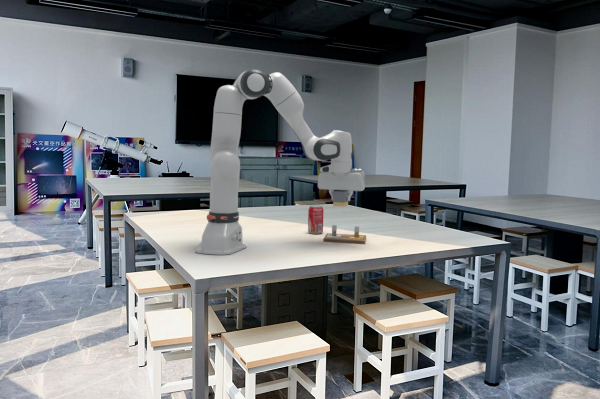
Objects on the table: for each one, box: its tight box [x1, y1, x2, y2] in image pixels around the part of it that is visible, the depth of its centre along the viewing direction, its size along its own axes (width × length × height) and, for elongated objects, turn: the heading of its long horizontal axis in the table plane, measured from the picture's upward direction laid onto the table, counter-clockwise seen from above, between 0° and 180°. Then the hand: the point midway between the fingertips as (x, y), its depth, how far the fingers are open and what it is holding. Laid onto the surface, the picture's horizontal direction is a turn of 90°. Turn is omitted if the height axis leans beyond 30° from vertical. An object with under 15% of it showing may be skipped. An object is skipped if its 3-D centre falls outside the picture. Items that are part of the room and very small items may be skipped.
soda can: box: [307, 204, 324, 235], centre depth 236 cm, size 7×7×13 cm
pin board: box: [322, 224, 367, 245], centre depth 222 cm, size 14×18×6 cm
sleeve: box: [332, 190, 349, 207], centre depth 214 cm, size 5×5×6 cm
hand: (340, 200), depth 214 cm, fingers closed on sleeve, 5 cm apart
